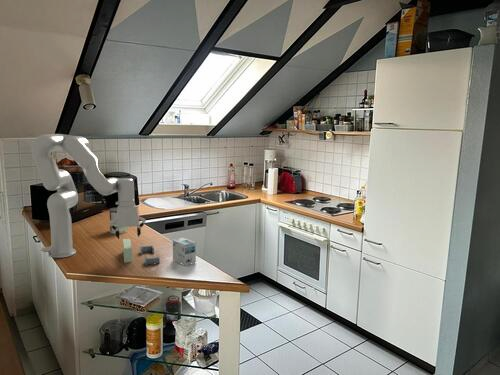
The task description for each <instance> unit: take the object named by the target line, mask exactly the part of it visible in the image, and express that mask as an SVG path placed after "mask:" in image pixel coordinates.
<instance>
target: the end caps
mask: <svg viewBox="0 0 500 375" xmlns="http://www.w3.org/2000/svg"><path fill="white" fill-rule="evenodd" d="M143 252H144V253H153V254H155V248H154V245H144V246H143V245H142V246H139V254H140V255H143ZM143 257H144V264H152V265H155V264H154V263H160V256H159V254H158V255H157V254H156V256H155V257H147V256H146V255H145V256H143Z"/></svg>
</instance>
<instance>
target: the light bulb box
mask: <svg viewBox="0 0 500 375" xmlns="http://www.w3.org/2000/svg"><path fill="white" fill-rule="evenodd" d="M173 260H175V261H177V262H176V263H178V262H179V263H178V264H180V263H182V264H184V265H187V266H189V265H188V264H190V265H192V264H191V263H194V264H196V263H197V243H196V241H193V240H190V239H187V238H185V237H180V238H175V239H172V261H173ZM175 261H174V262H175ZM195 262H196V263H195ZM182 264H181V265H182ZM184 265H183V266H184Z"/></svg>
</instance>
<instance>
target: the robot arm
mask: <svg viewBox="0 0 500 375" xmlns="http://www.w3.org/2000/svg"><path fill="white" fill-rule="evenodd" d="M30 146H31V147H30V148H31V149H30V151H31V155H32V159H33V160H34V163H35V165H36V167H37V168H36V169H37V172H38V173H39V176H40V179H41V182H42V185H43V187H44V188H45V189H46V190H48V191H56V192H55V193H53V194H51V195H50V196H49V197H48V198H47V202H46V206H47V209H48V210H47V211H48V215H49V225H50V242H51V245H50V246H46V247H45V246H44V247H43V246H42V247H41V252H43V253H47V252H48V257H50V258H53V259H54V258H55V259H56V258H57V259H61V258H62V259H63V258H68V257H72V256H74V255H75V254H76V253H77V250H76V249H75V248H73V246H74V245H73V229H72V228H73V227H72V226H73V224H72V216H71V213H70V209H71V208H73V207H75V206H76V205H77V204H78V202H79V194H78V191H77V189H76V185H75V183H74V180H73V177H72V175H71V173H69V172H68V171H67V170H66V169H60V168H59V167H58V165H57V162H56V160H55V158H54V157H53V155H52V154H51V153H52V152H66V153H67V154H68V155H69V156H70V157H71V158H72V160H74V161H75V162H76V164H77V165H78V166H79V167H80V168H81V169H82V171H83V173H84V176H85V178H86V180H87V182H88V183H89V184H90V185H91V186H92V187H93V189H94V190H95V191H96V192H98V193H99V194H100V195H102V196H109V195H112V194H115V193H117V196H118V201H115V205H117V207H118V208H117V218H116V219H114V220H112V221H111V222H110V221H109V227H110V226H111V227H112V228H113V229H114V230H115V231H116V234H115V237H116V238H117V239H118V240H119V239H120V233H119V228H120V227H127V228H130V227H137V228H136V232H137V233H136V235H137V237H139V238H140V235H141V234H142V231H141V229H142V227H143V226H144V225H145V223H146V220H147V219H145V218H144V217H141V216H139V212H138V206H137V205H136V203H135V202H136V201H135V182H134V179H133V178H129V177H127V178H126V177H124V178H120V177H114V176H113V177H108V178H107V177H105V176H104V174H102V172H101V171H100V169H99V166H98V162H99V159H98V157H97V156H96V155H95V154H94V153H93V152H92V151H91V150H90V142H89V140H88V139H87V138H85V137H84V136H80V135H73V134H72V135H71V134H65V133H64V134H63V133H48V134H46V133H45V134H41V135H40V136H39V135H38V136H37V137H36V138H35V139H34V140H33V142H32V144H31V145H30ZM140 221H141V223H140ZM115 222H117V226H116V227H115V226H114V225H113V223H115Z"/></svg>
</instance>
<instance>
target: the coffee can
mask: <svg viewBox="0 0 500 375" xmlns="http://www.w3.org/2000/svg"><path fill="white" fill-rule="evenodd" d="M117 208H118V206H117V207H111V208H109V209H108V210H109V222H111V221H112V220H114V219H116V218H117ZM113 225H114V226H115V227H116V226H117V222H115V223H113ZM109 232H110V234H115V235H116V231H115V230H114V229H113V228H112V227H111V226H110V225H109ZM127 232H128V227H120V228H119V234H124V233H127Z"/></svg>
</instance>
